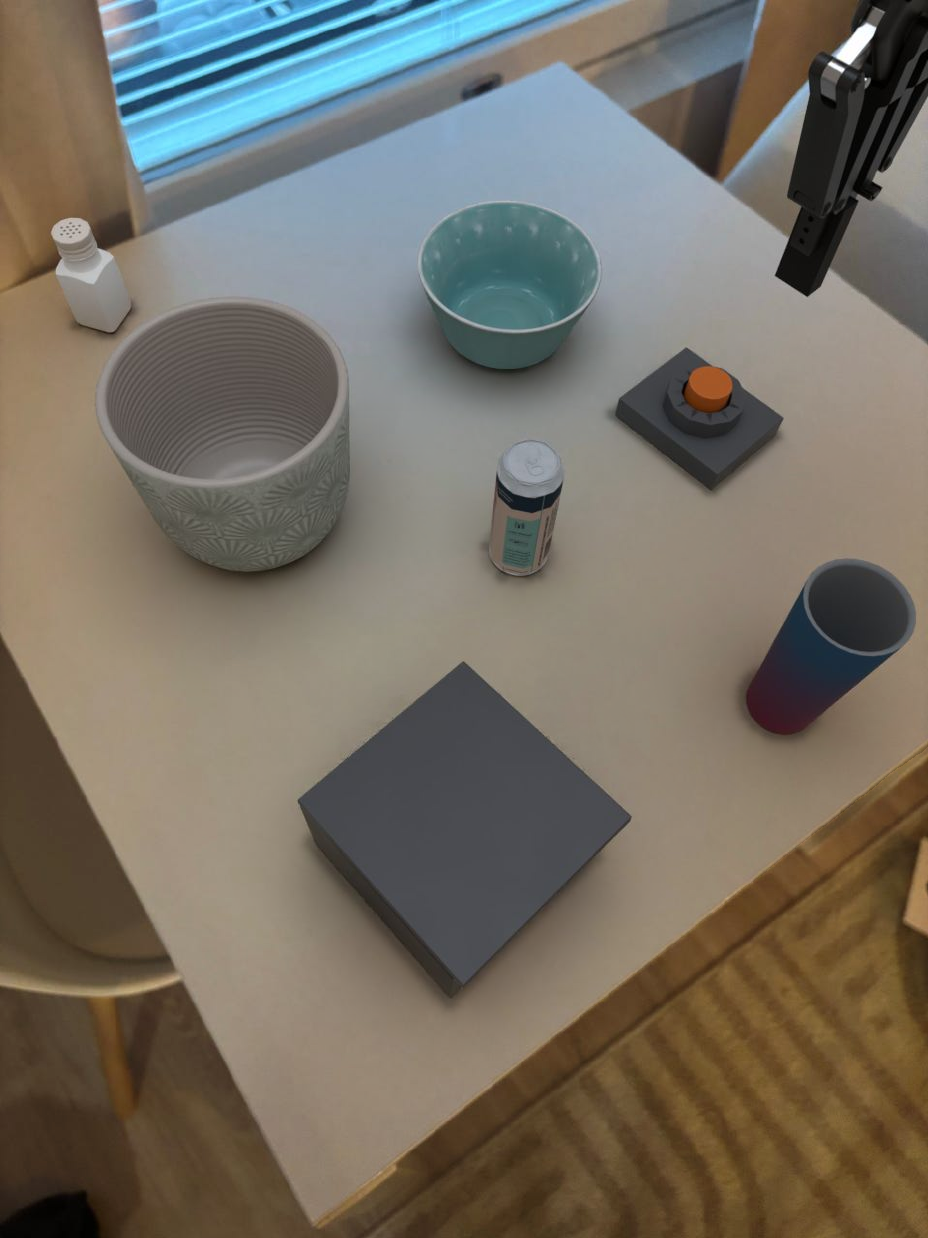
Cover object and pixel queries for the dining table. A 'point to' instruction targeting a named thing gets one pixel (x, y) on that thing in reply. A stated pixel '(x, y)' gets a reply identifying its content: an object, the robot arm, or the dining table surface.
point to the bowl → (508, 280)
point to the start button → (708, 389)
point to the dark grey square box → (384, 911)
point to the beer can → (525, 506)
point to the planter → (232, 428)
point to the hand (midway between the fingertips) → (797, 280)
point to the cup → (830, 643)
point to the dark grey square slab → (464, 819)
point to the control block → (697, 421)
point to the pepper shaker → (89, 277)
